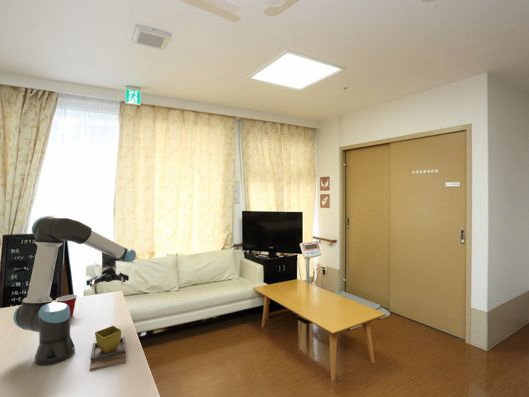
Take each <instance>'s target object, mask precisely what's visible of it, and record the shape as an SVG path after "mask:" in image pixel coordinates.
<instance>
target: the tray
mask: <svg viewBox="0 0 529 397" xmlns="http://www.w3.org/2000/svg"><path fill="white" fill-rule="evenodd" d="M126 356H127V355H126V339H125V336H123V337H122V336H121V340H120V343H119V345H118V347H117V349H115V350H113V351H110V352H108V353H104V352H103V351H102V350H101V349H100V348H99V347H98V345H97V342H93V343H92V346H91V352H90V362H89V372H90V371H91V372H92V371H96V370H100V369H104V368H108V367H114V366H117V365H121V364H126V363H127V360H126Z"/></svg>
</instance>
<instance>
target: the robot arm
mask: <svg viewBox="0 0 529 397" xmlns="http://www.w3.org/2000/svg"><path fill="white" fill-rule="evenodd" d="M31 233H32V234H33V236H34V237H35V238H34V243H35V245H36V246H37V247H36V248H37V249H36V253H35V255H34V256H35V258H34V262H33V267H32V271H31V272H32V273H31V277H30V280H29V281H30V282H29V285H28V286H29V287H28V292H27V296H26V297H25V298H23V299H22V301H21V304H20V305H19V306H18V307H17V308H15V311H14V312H13V317H12V318H13V323H14V325H16V327H18V328H20V329H23V330H25V331H31V332H36V333H39V334H38V336H39V337H38V338H39V342H38V343H39V344H38V346H37V349H36V352H35V355H34V363H35V364H36V365H38V366H51V365H55V364H59V363H62V362H64V361H66V360H68V359H70V358H71V357H72V356H74V354H75V352H76V346H75V344H74V341H73V340H72V337H71V317H70V309H69V306H68V305H67V304H65V303H61V302H57V301H56V302H53V298H52V297H51V296H50V294H51V289H52V283H53V280H54V274H55V273H54V272H55V267H56V262H57V257H58V253H59V252H58V251H59V248H60V247H61V246H62V245H63V244H64V241H67V242H72V243H75V244H78V245H85V246H88V247H90V248H93V249H94V250H97V251H98V252H101V274H100V276H98V275H96V274H95V275H94V276H92V277H91V278H89V279H87V280H86V286H89V287H90V288H91V290H94V288H95V285H96V284H99V283H104V282H105V283H110V282H113V281H119V282H121V286H124V283H125V282H126V281H127V282H129V279H130V278H129V277H130V276H129V275H127V274H124V273H122V272H119V273H118V274H117V262H124V263H133V262H134V261H135V260H136V257H137V252H136V251H135V250H134V249H132V248H127V247H124V246H122V245H121V244H120V243H116V242H114V241H112V240H111V239H109V238H107V237H105V236H103V235H101V234H99V233H97V232H95V231H93V229H92V228H91V227H90V226H88V225H87V224H85V223H83V222H81V221H79V220H77V219H75V218H72V217H70V216H56V215H44V216H41V217H39V218H38V219H36V220H35V221H34V222H33V224H32V226H31Z"/></svg>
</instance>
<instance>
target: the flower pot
mask: <svg viewBox="0 0 529 397" xmlns="http://www.w3.org/2000/svg"><path fill="white" fill-rule="evenodd" d="M94 336H95V337H94V338H95V343H97V345H98V347H99V348H100V349H101V350H102V351H103V352H104V353H108V352H110V351H113V350H115V349H117V347H118V345H119V343H120V340H121V338H122V330H121V329H120V328H118V327H116V326H115V325H111V326H108V327H106V328H103V329H100V330H97V331H95V332H94Z"/></svg>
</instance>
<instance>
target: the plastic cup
mask: <svg viewBox="0 0 529 397" xmlns="http://www.w3.org/2000/svg"><path fill="white" fill-rule="evenodd" d="M77 297H78V295H77V294H69V295H68V294H67V295H63V296H60V297H57V298H55V301H56V303H58V302H61V303H65V304H67V305H68V306H69V309H70V318H72V317H73V315H74V311H75V306H76V300H77Z"/></svg>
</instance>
